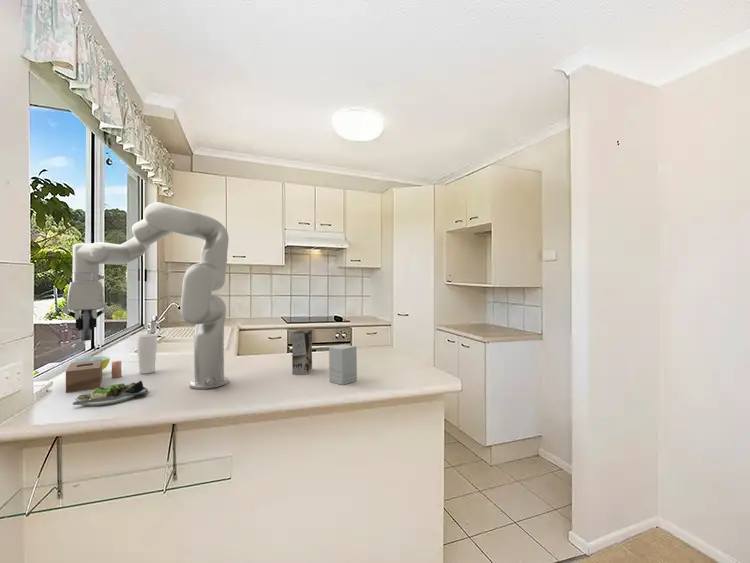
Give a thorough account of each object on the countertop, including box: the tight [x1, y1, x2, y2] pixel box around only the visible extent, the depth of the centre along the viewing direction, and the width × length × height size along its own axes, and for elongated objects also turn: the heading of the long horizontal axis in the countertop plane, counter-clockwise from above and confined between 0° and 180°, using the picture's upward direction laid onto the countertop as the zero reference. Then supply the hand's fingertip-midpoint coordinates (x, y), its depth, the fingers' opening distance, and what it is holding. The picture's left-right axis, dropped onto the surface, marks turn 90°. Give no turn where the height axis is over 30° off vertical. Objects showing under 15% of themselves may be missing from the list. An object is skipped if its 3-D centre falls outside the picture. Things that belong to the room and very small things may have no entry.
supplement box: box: [328, 344, 358, 386], centre depth 130 cm, size 7×7×13 cm
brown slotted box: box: [65, 359, 103, 393], centre depth 128 cm, size 16×9×7 cm, turn 35°
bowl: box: [72, 356, 111, 371], centre depth 141 cm, size 11×12×6 cm
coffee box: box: [291, 329, 313, 375], centre depth 144 cm, size 9×6×16 cm
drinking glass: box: [136, 333, 158, 375], centre depth 144 cm, size 7×7×15 cm
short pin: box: [111, 360, 122, 379], centre depth 138 cm, size 3×3×6 cm
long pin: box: [80, 310, 93, 342], centre depth 128 cm, size 3×3×12 cm
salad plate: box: [72, 380, 149, 407], centre depth 112 cm, size 19×18×5 cm
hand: (86, 329), depth 128 cm, fingers closed on long pin, 3 cm apart
